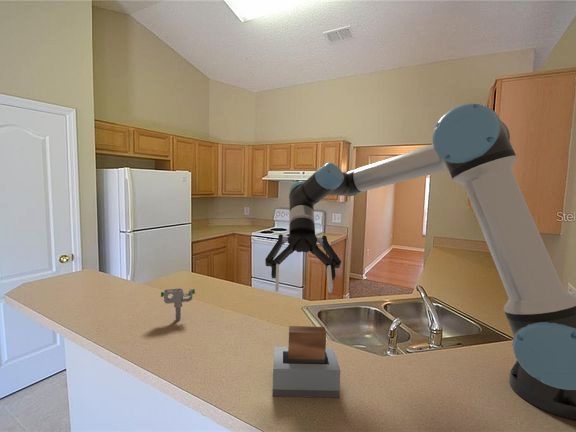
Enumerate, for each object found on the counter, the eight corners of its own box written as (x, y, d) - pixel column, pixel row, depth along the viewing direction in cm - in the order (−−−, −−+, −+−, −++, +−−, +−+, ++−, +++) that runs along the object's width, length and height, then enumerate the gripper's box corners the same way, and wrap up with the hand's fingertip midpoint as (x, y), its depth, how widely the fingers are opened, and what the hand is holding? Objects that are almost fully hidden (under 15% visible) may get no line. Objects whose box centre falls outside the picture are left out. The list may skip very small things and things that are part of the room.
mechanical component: (194, 319, 99) (195, 289, 98) (160, 323, 95) (160, 292, 95) (194, 315, 102) (194, 287, 101) (161, 319, 98) (161, 289, 97)
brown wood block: (287, 372, 69) (289, 326, 68) (322, 373, 69) (324, 326, 69) (287, 380, 66) (289, 332, 65) (324, 381, 66) (326, 333, 66)
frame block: (273, 370, 72) (274, 346, 72) (332, 371, 73) (333, 347, 72) (272, 396, 63) (273, 368, 63) (339, 397, 64) (340, 370, 63)
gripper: (341, 233, 93) (350, 297, 79) (260, 230, 93) (255, 295, 79) (345, 217, 87) (355, 283, 74) (259, 214, 87) (253, 281, 73)
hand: (303, 289), depth 76 cm, fingers open, 13 cm apart
